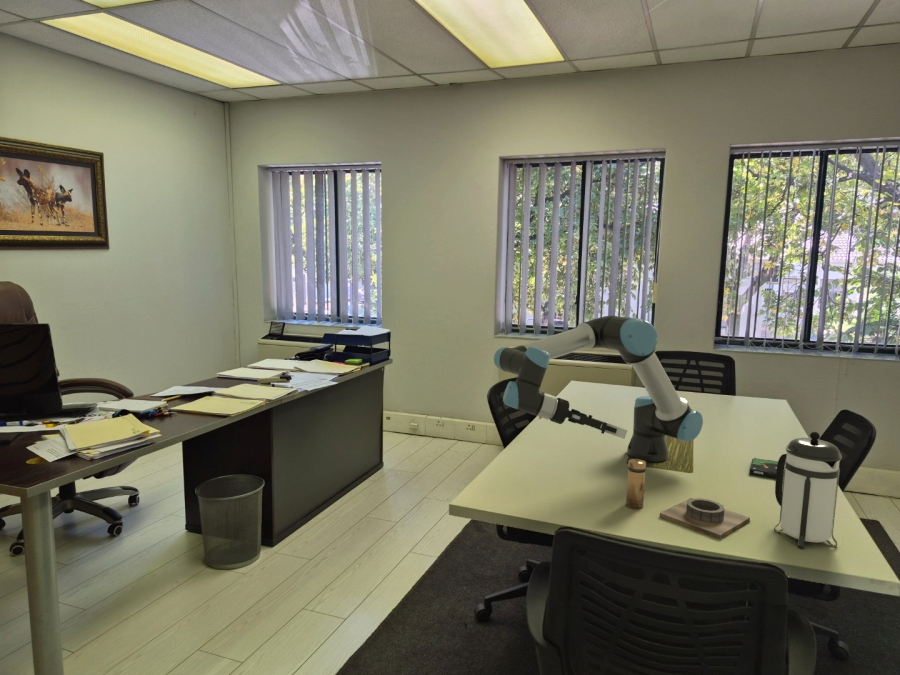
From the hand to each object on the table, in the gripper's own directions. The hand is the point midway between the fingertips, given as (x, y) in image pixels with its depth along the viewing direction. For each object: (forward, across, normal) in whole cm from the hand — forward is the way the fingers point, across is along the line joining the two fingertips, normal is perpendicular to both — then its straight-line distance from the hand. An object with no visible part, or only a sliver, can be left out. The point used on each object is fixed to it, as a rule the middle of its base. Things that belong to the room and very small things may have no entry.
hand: (618, 431), depth 184 cm
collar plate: (+29, +10, -16) cm, 34 cm away
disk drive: (+67, -29, +3) cm, 73 cm away
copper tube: (+12, 0, -20) cm, 23 cm away
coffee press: (+50, +21, -11) cm, 55 cm away
